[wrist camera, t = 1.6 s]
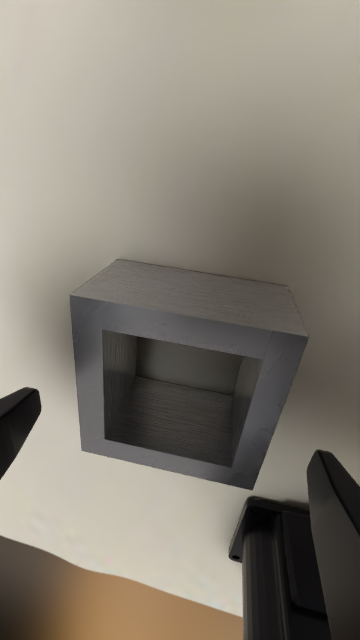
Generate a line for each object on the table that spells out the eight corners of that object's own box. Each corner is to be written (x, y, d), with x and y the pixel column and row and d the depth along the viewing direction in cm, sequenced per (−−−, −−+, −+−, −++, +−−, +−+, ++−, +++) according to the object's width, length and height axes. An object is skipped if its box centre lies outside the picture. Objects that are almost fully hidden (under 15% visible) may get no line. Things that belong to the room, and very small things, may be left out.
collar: (248, 414, 15) (252, 490, 11) (116, 387, 16) (81, 450, 12) (287, 286, 12) (308, 336, 8) (117, 258, 12) (69, 294, 9)
